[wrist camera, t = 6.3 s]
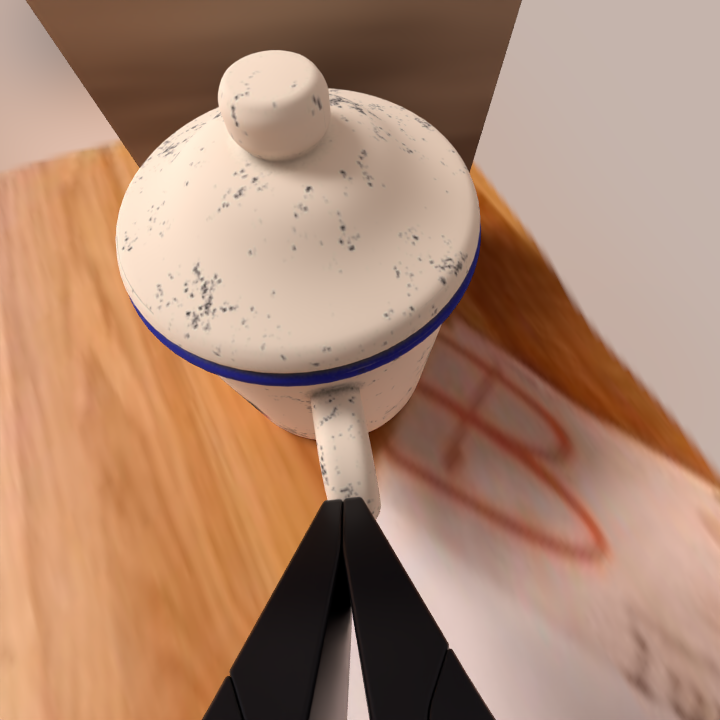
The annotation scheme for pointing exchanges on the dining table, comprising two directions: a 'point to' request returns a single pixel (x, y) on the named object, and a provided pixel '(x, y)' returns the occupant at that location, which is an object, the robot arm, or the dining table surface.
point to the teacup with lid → (303, 253)
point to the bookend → (287, 33)
